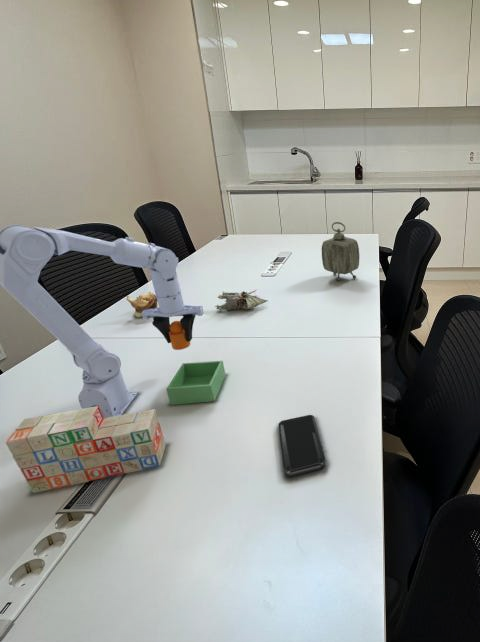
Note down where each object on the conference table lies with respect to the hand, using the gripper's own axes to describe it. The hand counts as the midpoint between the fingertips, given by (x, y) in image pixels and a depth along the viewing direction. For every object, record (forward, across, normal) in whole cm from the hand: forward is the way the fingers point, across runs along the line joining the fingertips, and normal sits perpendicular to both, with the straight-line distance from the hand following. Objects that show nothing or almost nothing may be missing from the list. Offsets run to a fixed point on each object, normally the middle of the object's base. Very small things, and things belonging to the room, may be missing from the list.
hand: (180, 340), depth 103 cm
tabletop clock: (+9, -45, -65) cm, 80 cm away
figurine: (+9, -8, -41) cm, 42 cm away
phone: (+9, -33, +34) cm, 48 cm away
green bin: (+9, -6, +10) cm, 15 cm away
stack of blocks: (+9, +5, +34) cm, 36 cm away
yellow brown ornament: (+9, +27, -41) cm, 50 cm away
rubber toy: (+2, 0, 0) cm, 2 cm away
